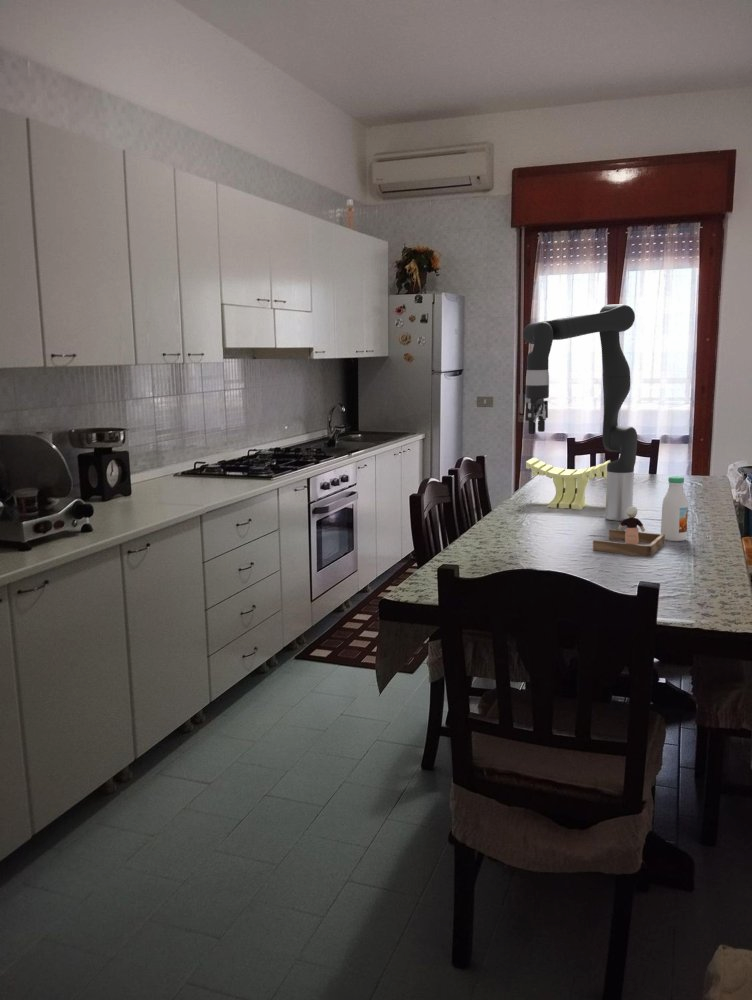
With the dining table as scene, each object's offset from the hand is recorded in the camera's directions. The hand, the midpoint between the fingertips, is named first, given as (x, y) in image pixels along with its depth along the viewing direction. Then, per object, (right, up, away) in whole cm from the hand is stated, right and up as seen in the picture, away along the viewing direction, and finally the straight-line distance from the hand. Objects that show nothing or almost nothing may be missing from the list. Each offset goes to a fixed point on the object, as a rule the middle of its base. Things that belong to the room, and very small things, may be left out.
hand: (536, 432), depth 266 cm
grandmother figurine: (+25, -37, -21) cm, 49 cm away
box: (+24, -37, -21) cm, 49 cm away
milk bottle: (+41, -35, -12) cm, 56 cm away
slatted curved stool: (+22, -25, +48) cm, 59 cm away
